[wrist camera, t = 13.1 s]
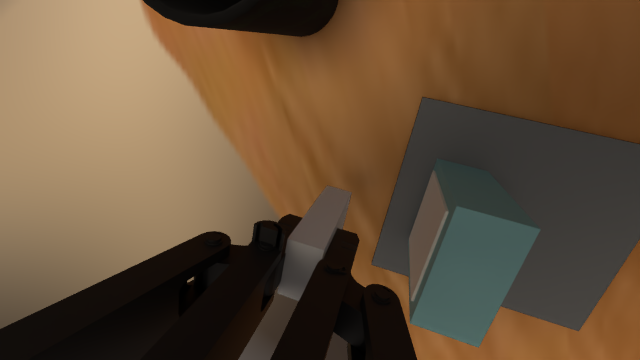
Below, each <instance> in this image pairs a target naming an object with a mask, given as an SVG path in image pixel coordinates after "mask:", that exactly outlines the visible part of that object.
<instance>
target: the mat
mask: <svg viewBox="0 0 640 360" xmlns="http://www.w3.org/2000/svg"><path fill="white" fill-rule="evenodd" d="M437 159H441V160H445V161H449V162H453V163H457V164H461V165H465V166H469V167H473V168H477V169H481V170H485V171H488V172H489V173H490V174H491V175H492V176H493V177H494V178H495V180H496V181H497V182H498V183H499V184H500V185H501V186H502V187H503V188H504V189H505V191H506V192H507V193H508V194H509V195H510V196H511V197H512V198H513V199H514V200H515V202H516V203H517V204H518V205H519V206H520V207H521V208H522V209H523V210H524V211H525V213H526V214H527V215H528V216H529V217H530V218H531V219H532V220H533V221H534V222H535V224H536V225H537V226H538V227H539V228H540V229H541V230H540V232H539V234H538V235H537V237H536V239H535V241H534V243H533V245H532V247H531V249H530V251H529V253H528V254H527V256H526V258H525V260H524V262H523V264H522V266H521V268H520V270H519V272H518V274H517V275H516V277H515V279H514V281H513V283H512V285H511V287H510V289H509V291H508V293H507V294H506V296H505V298H504V300H503V302H502V304H501V306H502V307H505V308H508V309H511V310H514V311H517V312H520V313H524V314H527V315H530V316H533V317H536V318H539V319H542V320H545V321H548V322H552V323H555V324H558V325H561V326H564V327H567V328H570V329H573V330H576V331H579V330H580V329H581V327H582V325H583V324H584V322H585V321H586V319H587V318H588V316H589V315H590V313H591V312H592V310H593V309H594V307H595V306H596V304H597V303H598V301H599V300H600V298H601V297H602V295H603V294H604V292H605V291H606V289H607V288H608V286H609V285H610V283H611V282H612V280H613V279H614V277H615V276H616V274H617V272H618V271H619V269H620V268H621V266H622V265H623V263H624V262H625V260H626V259H627V257H628V256H629V254H630V253H631V251H632V250H633V248H634V247H635V245H636V244H637V242H638V241H639V239H640V144H637V143H632V142H627V141H623V140H618V139H614V138H609V137H604V136H600V135H595V134H591V133H586V132H581V131H577V130H572V129H568V128H563V127H558V126H554V125H549V124H545V123H540V122H535V121H531V120H526V119H522V118H517V117H512V116H508V115H503V114H499V113H494V112H489V111H485V110H480V109H476V108H471V107H466V106H462V105H457V104H453V103H448V102H444V101H439V100H434V99H430V98H425V97H422V101H421V104H420V107H419V110H418V114H417V117H416V120H415V123H414V127H413V130H412V133H411V137H410V140H409V143H408V146H407V150H406V153H405V156H404V159H403V163H402V166H401V169H400V172H399V176H398V179H397V182H396V185H395V189H394V192H393V195H392V198H391V202H390V205H389V208H388V211H387V215H386V218H385V221H384V225H383V228H382V231H381V234H380V238H379V241H378V244H377V247H376V251H375V254H374V257H373V260H372V265H374V266H378V267H381V268H384V269H387V270H390V271H393V272H396V273H399V274H402V275H406V276H409V260H408V240H409V237H410V234H411V231H412V228H413V226H414V223H415V220H416V217H417V214H418V211H419V209H420V206H421V203H422V200H423V197H424V194H425V191H426V189H427V186H428V183H429V180H430V177H431V174H432V172H433V169H434V166H435V163H436V160H437Z"/></svg>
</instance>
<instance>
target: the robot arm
mask: <svg viewBox="0 0 640 360" xmlns="http://www.w3.org/2000/svg"><path fill="white" fill-rule="evenodd" d="M351 194H352V192H349V191H345V190H342V189H338V188H335V187H331V186H328V185H327V186H326V188H325V189H324V190H323V192H322V193H321V194H320V196H319V197H318V198H317V200H316V201H315V202H314V204H313V205H312V206H311V208H310V209H309V210H308V212H307V213H306V214H305V216H304V217H303V218H301V217H298V216H295V215H291V214H289V215H286V216H284V217H282V218H281V219H280V220H279V221H278V223H277V222H274V221H259V222H257V223H255V224H254V230H253V237H252V242H251V243H250V244H249V245H248V246H241V245H232V244H231V239H230V237H229V236H228V235H226V234H224V233H221V232H216V231H213V232H206V233H203V234H200V235H198V236H196V237H194V238H192V239H190V240H188V241H186V242H183V243H181V244H179V245H177V246H175V247H173V248H171V249H169V250H167V251H164V252H162V253H160V254H158V255H156V256H154V257H152V258H150V259H148V260H145V261H143V262H141V263H139V264H137V265H135V266H133V267H131V268H128V269H127V270H125V271H122V272H120V273H118V274H116V275H114V276H112V277H109V278H107V279H105V280H103V281H101V282H99V283H97V284H95V285H93V286H91V287H88V288H86V289H84V290H82V291H80V292H78V293H76V294H73V295H71V296H69V297H67V298H65V299H63V300H61V301H59V302H57V303H55V304H52V305H50V306H48V307H46V308H44V309H42V310H40V311H38V312H35V313H33V314H31V315H29V316H27V317H25V318H23V319H21V320H18V321H16V322H14V323H12V324H10V325H8V326H6V327H4V328H2V329H0V360H238V359H239V357H240V355H241V354H242V352H243V350H244V348H245V347H246V345H247V344H248V342H249V340H250V339H251V337H252V335H253V334H254V332H255V330H256V328H257V327H258V325H259V324H260V322H261V320H262V318H263V317H264V315H265V313H266V312H267V310H268V308H269V307H270V305H271V303H272V302H273V298H274V293H275V290H276V288H277V287H278V285H279V288H278V294H281V295H284V296H286V297H289V298H292V299H295V300H297V301H299V302H298V304H297V306H296V308H295V311H294V312H293V314H292V317H291V318H290V320H289V322H288V325H287V326H286V329H285V331H284V333H283V335H282V337H281V339H280V341H279V343H278V345H277V347H276V349H275V351H274V353H273V355H272V357H271V359H270V360H325V358H326V355H327V351H328V348H329V345H330V341H331V338H332V335H333V332H335V333H336V334H337V335H339V336H340V337H341V338H343V339H344V340H346V341H347V342H348V344H347V353H348V360H417V357H416V354H415V351H414V347H413V344H412V341H411V337H410V334H409V330H408V327H407V324H406V320H405V317H404V314H403V310H402V307H401V304H400V300H399V298H398V296H397V295H396V294H395V293H394V292H393V291H392V290H391V289H389V288H387V287H386V286H383V285H379V284H371V285H368V286H367V287H366V288H365V287H363V286H362V285H360V284H359V283H357V282H356V281H355V280H354V278H353V277H352V275H351V268H352V265H353V261H354V258H355V254H356V251H357V247H358V243H359V238H358V236H357V234H355V233H352V232H349V231H346V230H342V229H343V225H344V221H345V217H346V213H347V209H348V205H349V201H350V198H351ZM192 277H194V280H192V281H190V282H188V283H187V280H189V279H191V278H192Z"/></svg>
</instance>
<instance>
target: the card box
mask: <svg viewBox="0 0 640 360" xmlns="http://www.w3.org/2000/svg"><path fill="white" fill-rule="evenodd" d="M540 230H541V229H540V228H539V227H538V226H537V225H536V224H535V222H534V221H533V220H532V219H531V218H530V217H529V216H528V215H527V214H526V213H525V211H524V210H523V209H522V208H521V207H520V206H519V205H518V204H517V203H516V202H515V200H514V199H513V198H512V197H511V196H510V195H509V194H508V193H507V192H506V191H505V189H504V188H503V187H502V186H501V185H500V184H499V183H498V182H497V181H496V180H495V178H494V177H493V176H492V175H491V174H490V173H489V172H488V171H485V170H481V169H477V168H473V167H469V166H465V165H461V164H457V163H453V162H449V161H445V160H441V159H437V160H436V163H435V166H434V169H433V172H432V174H431V177H430V180H429V183H428V186H427V189H426V191H425V194H424V197H423V200H422V203H421V206H420V209H419V211H418V214H417V217H416V220H415V223H414V226H413V228H412V231H411V234H410V237H409V240H408V260H409V308H410V324H413V325H416V326H419V327H422V328H425V329H427V330H430V331H433V332H436V333H439V334H442V335H444V336H447V337H450V338H453V339H456V340H459V341H461V342H464V343H467V344H470V345H473V346H476V347H478V348H479V346H480V344H481V342H482V340H483V338H484V336H485V334H486V332H487V331H488V329H489V327H490V325H491V323H492V321H493V319H494V317H495V315H496V313H497V312H498V310H499V308H500V306H501V304H502V302H503V300H504V298H505V296H506V294H507V293H508V291H509V289H510V287H511V285H512V283H513V281H514V279H515V277H516V275H517V274H518V272H519V270H520V268H521V266H522V264H523V262H524V260H525V258H526V256H527V254H528V253H529V251H530V249H531V247H532V245H533V243H534V241H535V239H536V237H537V235H538V234H539V232H540Z"/></svg>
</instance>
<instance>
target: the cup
mask: <svg viewBox="0 0 640 360" xmlns="http://www.w3.org/2000/svg"><path fill="white" fill-rule="evenodd" d="M143 1H144V2H145V3H146V4H147V5H148V6H150V7H151V8H153V9H154V10H155V11H157V12H158V13H159V14H161V15H162V16H163V17H165V18H167V19H170V20H173V21H175V22H178V23H180V24H183V25H186V26H196V27H207V28H217V29H227V30H238V31H248V32H258V33H269V34H279V35H289V36H300V37H302V36H308V35H311V34H314V33H316V32H318V31H319V30H320V29H322V28H323V27H324V26H325V25H326V24H327V23H328V22H329V20H330V19H331V18H332V16H333V14H334V12H335V10H336V7H337V4H338V0H143Z"/></svg>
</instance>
